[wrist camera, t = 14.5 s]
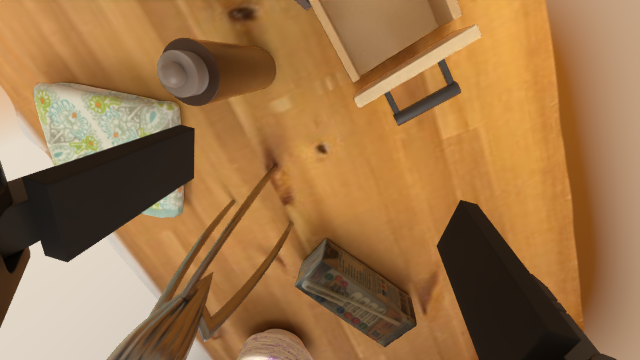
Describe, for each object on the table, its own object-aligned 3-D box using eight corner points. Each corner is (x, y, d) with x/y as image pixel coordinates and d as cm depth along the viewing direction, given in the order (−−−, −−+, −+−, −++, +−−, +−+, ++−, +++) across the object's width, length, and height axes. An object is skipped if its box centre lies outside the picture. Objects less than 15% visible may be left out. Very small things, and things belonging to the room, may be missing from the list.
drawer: (472, 76, 31) (498, 80, 25) (375, 128, 35) (377, 143, 29) (397, -112, 26) (406, -165, 20) (293, -23, 30) (274, -45, 24)
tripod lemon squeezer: (277, 163, 41) (100, 368, 14) (294, 225, 45) (183, 476, 18) (220, 170, 43) (-31, 361, 16) (241, 229, 47) (71, 459, 20)
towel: (55, 77, 41) (16, 79, 36) (186, 102, 39) (161, 107, 34) (83, 183, 48) (53, 196, 44) (193, 207, 47) (174, 224, 42)
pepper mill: (231, 61, 36) (117, 62, 19) (260, 38, 34) (163, 17, 18) (253, 96, 37) (166, 124, 21) (283, 75, 35) (212, 88, 19)
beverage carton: (326, 234, 44) (320, 261, 38) (414, 295, 47) (421, 329, 41) (300, 262, 48) (291, 290, 42) (383, 317, 50) (385, 352, 44)
